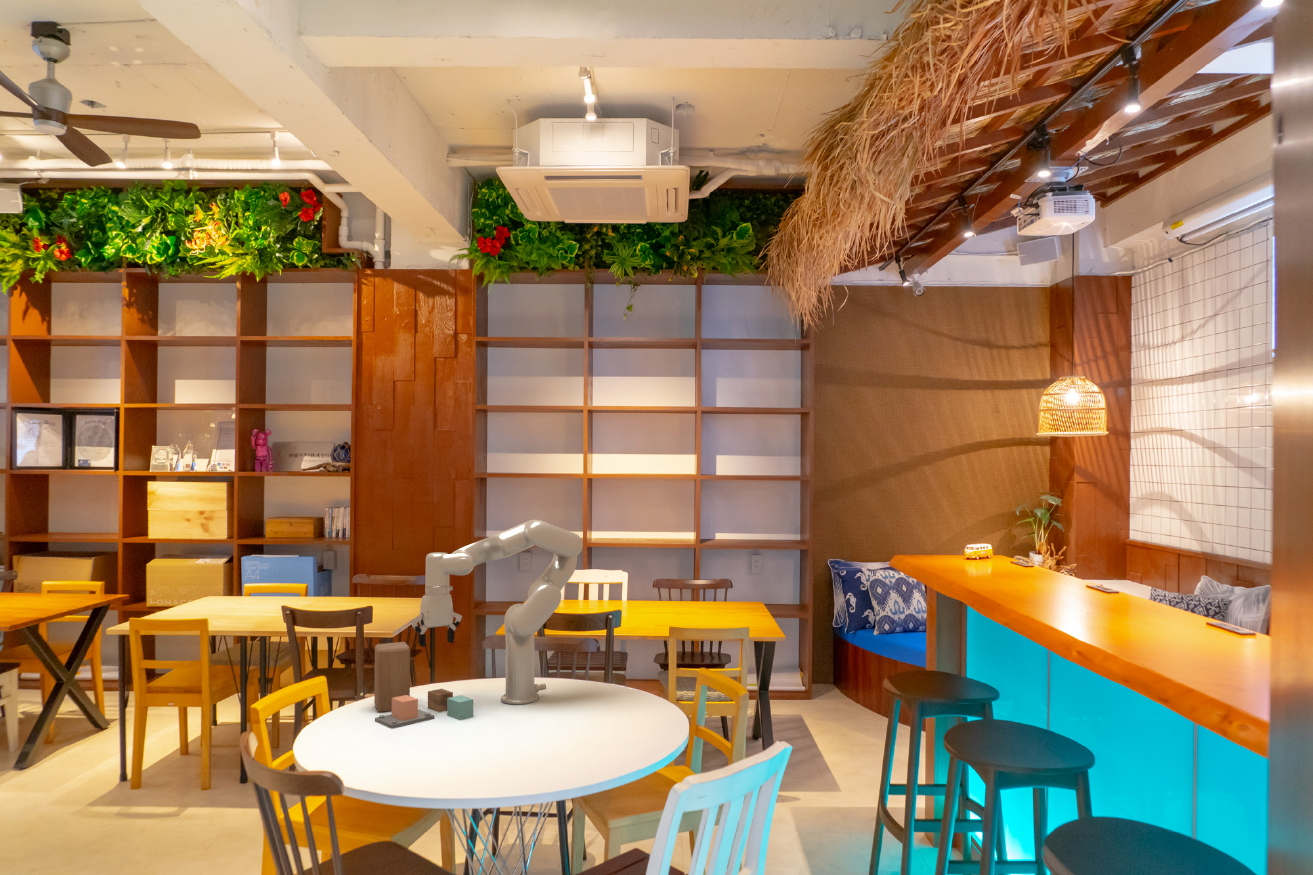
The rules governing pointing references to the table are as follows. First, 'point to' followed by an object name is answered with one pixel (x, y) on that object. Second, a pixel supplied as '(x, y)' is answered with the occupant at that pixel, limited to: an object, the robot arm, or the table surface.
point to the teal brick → (460, 707)
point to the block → (391, 674)
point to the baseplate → (402, 723)
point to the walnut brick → (438, 699)
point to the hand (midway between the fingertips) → (436, 644)
